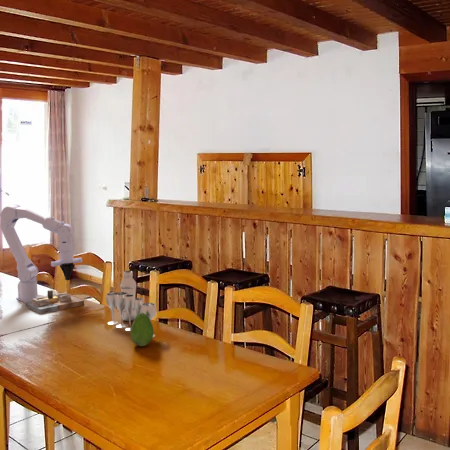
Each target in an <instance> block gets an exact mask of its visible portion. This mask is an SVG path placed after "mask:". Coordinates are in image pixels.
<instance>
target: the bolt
mask: <svg viewBox="0 0 450 450" xmlns="http://www.w3.org/2000/svg"><path fill="white" fill-rule="evenodd" d="M47 298H48V299H49V303H52V302H57V301H58V297H56V296H54V291H53V289H51V290H47V297H45V298H44V299H47ZM39 300H42V299H39Z"/></svg>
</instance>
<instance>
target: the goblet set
mask: <svg viewBox="0 0 450 450" xmlns="http://www.w3.org/2000/svg"><path fill="white" fill-rule="evenodd" d="M105 301H106V304H107V306H108V307H109V308H110V311H111V319H112V320H111V321H108V322H107V325H110V326H111V325H115V328H118V329H123V328H125V329H124V330H125V331H127V332H131V327H132V325H131V313H132V310H133V308H135V311H136V313H137V314H139V313H145V314H146V315H147V316H148V317H149V319H150V321H151V322H152V320H153V318H154V317H155V316H156V314H157V307H156V305H155V303H154V302H144V298H143V297H135V301H134V295H127V293H126V292H121V291H119V292H108V293H106V297H105ZM125 307H126V309H127V311H128V314H129V319H130V321H129V327H128V324H125V323H123V319H122V311H123V309H124V308H125ZM116 308H117V310H118V311H119V314H120V315H119V316H120V321H117V320H114V313H115V312H114V311H115V309H116ZM119 322H120V323H119ZM155 337H156V334H154V333H153V338H155Z"/></svg>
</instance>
